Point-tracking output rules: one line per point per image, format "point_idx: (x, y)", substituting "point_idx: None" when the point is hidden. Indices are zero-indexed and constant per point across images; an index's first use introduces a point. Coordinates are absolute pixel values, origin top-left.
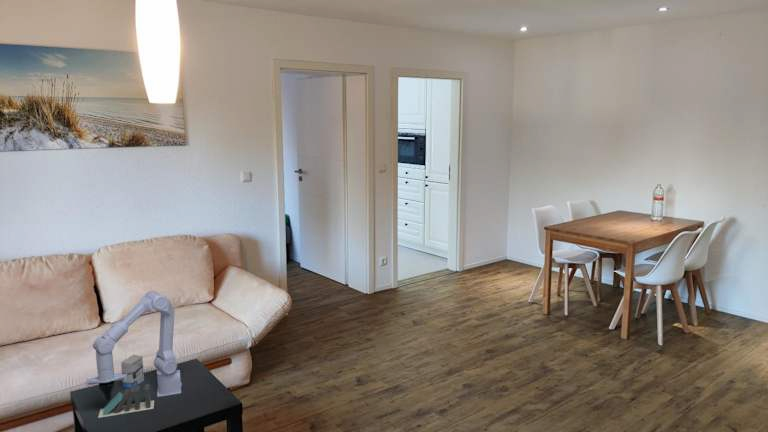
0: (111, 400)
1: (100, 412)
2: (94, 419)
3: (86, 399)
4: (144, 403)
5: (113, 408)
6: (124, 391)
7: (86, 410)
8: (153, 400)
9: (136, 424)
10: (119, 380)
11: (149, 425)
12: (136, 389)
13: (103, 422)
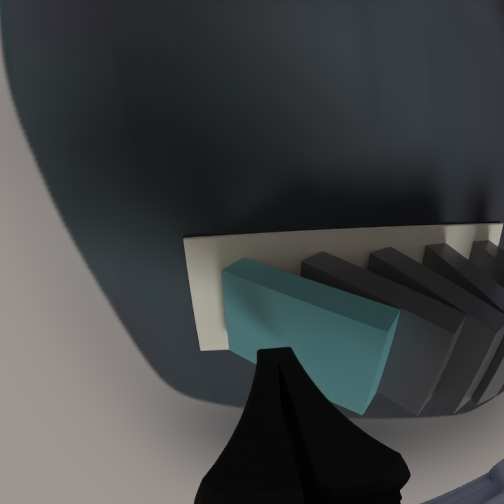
0: (287, 307)
1: (198, 293)
2: (182, 353)
3: (43, 38)
4: (462, 247)
5: (283, 258)
6: (424, 322)
7: (85, 222)
8: (500, 225)
9: (384, 413)
10: (440, 500)
11: (420, 417)
12: (495, 383)
13: (243, 389)
